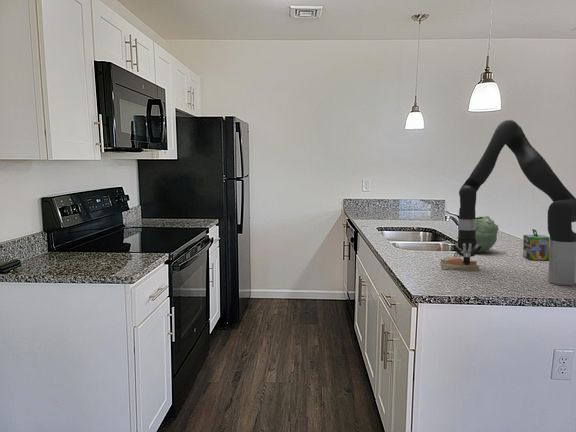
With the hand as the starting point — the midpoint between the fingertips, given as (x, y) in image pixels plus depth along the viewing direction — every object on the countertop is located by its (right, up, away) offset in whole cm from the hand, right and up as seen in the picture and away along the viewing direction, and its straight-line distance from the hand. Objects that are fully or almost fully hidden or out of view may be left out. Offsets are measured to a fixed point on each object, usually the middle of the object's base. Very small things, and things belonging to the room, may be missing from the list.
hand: (466, 264), depth 195 cm
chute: (-3, -1, +1) cm, 3 cm away
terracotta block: (-5, -1, +2) cm, 5 cm away
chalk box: (+40, +1, +12) cm, 42 cm away
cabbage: (+20, +3, +31) cm, 37 cm away
